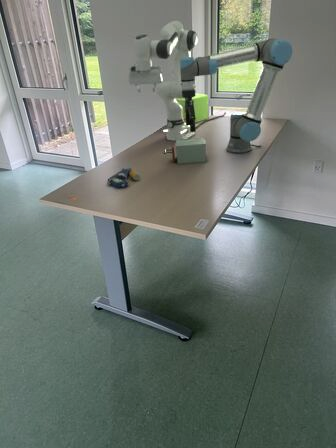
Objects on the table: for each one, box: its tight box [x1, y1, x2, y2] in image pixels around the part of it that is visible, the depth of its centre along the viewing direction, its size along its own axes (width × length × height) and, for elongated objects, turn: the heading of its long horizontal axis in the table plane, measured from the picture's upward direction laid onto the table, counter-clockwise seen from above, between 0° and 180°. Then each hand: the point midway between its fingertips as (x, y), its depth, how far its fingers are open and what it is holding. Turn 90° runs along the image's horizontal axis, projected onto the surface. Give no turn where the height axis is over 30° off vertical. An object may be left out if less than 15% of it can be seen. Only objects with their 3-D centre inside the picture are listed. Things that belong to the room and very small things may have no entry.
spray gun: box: [106, 167, 141, 189], centre depth 186 cm, size 21×4×15 cm
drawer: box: [163, 142, 177, 163], centre depth 205 cm, size 22×9×9 cm, turn 90°
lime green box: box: [176, 93, 210, 124], centre depth 283 cm, size 25×21×23 cm
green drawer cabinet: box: [175, 137, 207, 165], centre depth 205 cm, size 17×10×11 cm, turn 90°
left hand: (146, 91), depth 203 cm, fingers open, 8 cm apart
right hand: (190, 128), depth 191 cm, fingers open, 13 cm apart
